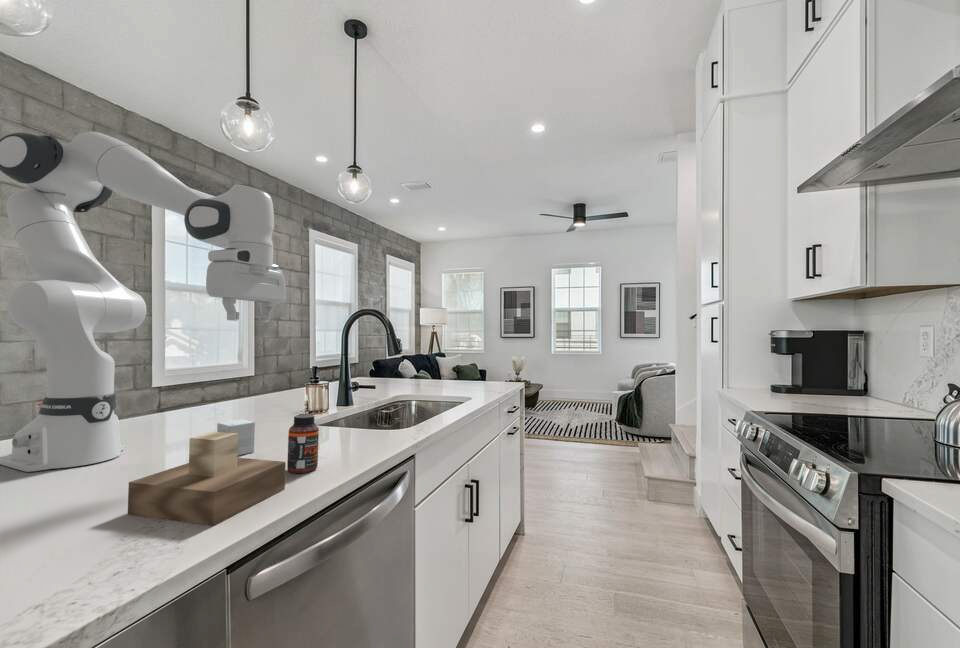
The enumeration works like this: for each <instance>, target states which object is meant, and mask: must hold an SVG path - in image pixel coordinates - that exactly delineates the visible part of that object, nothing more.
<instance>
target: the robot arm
mask: <svg viewBox="0 0 960 648" xmlns="http://www.w3.org/2000/svg"><path fill="white" fill-rule="evenodd" d="M0 172H2V173H3V174H4V175H5V176H7V177H9V178H11V179H12V180H13V181H16V182H18V183H21V184H25V185H26V186H27V187H26V189H22V190H19V191H16V192H14V193H12V194H10V196H9V197H8V199H7V201H6V203H5V204H6V205H5V206H6V214H7V218H8V223H9V226H10V229H11V232H12V234H13V236H14V238H15V241H16V243H17V245H18V248H19V249H20V252H21V254H22V255H23V258H24V260H25V263H26V264H27V267H28V269H30V271H31V272H32V273H34V274H35V275H36V276H38V277H39V278H40V279H41V280H30V281H24V282H22V283H20V284H18V285H17V286H16V287H14V288H13V289H12V291H11V292H10V294H9V296H8V298H7V302H6V303H7V306H6V307H7V312H8V315H9V316H10V318H11V320H12V321H13V322H14V323H15V324H16V325H18V326H19V327H20V328H22V329H24V330H25V331H26V332H28V333H29V334H30V335H31V336H32V337H33V338H34V340H35V341H36V342H37V343H38V345H39V348H40V349H41V352H42V353H43V357H44V359H45V368H46V396H45V397H44V398H43V399H38V400H37V402H40V403H37V406H40V408H39V410H38V414H39V415H37V416H36V417H35V418H34V419H33V420H31V422H29V423H27V424H26V425H25V426H23V427H22V428H21V429H20V430H18V431H17V432H16V433H15V434H14V436H13V438H12V440H11V444H12V445H11V446H12V447H11V448H12V449H11V453H8V454H5V455H2V456H0V465H2V466H5V467H8V468H12V469H15V470H18V471H23V472H25V473H27V472H28V473H29V472H30V473H31V472H39V471H45V470H52V469H62V468H63V469H65V468H73V467H80V466H86V465H92V464H97V463H102V462H105V461H109V460H111V459H112V460H113V459H115V458H117V457H119V456H121V454H122V451H124V450H125V445H124V444H121V435H120V424H119V417H118V415H117V414H115V409H116V408H117V402H118V401H117V400H118V399H117V393H115V372H116V371H115V367H116V363H115V360H114V357H113V356H112V355H110V354H109V353H107V352H105V351H103V350H101V349H100V348H99V346H98V345H97V343H96V341H95V338H94V335H93V333H103V334H104V333H105V334H106V333H111V334H113V333H114V334H115V333H119V332H120V333H121V332H125V331H130V330H135V329H137V328H138V327H139V326H141V324H143V322H144V320H145V319H146V316H147V303H146V302H145V300H144V298H143V297H142V296H141V295H140V294H139V293H137V292H136V291H133V290H131V289H130V288H128V287H126V285H123V284H122V283H121V282H120V281H119V280H117V279H116V278H115V276H113V275H112V274H111V273H110V272H109V271H108V270H107V269H106V268H105V267H104V266H103V265H102V264H101V263H100V262H99V261H98V259H97V258H96V257H95V255H94V253H93V252H92V250H91V248H90V247H89V245H88V242H87V241H86V239H85V237H84V235H83V233H82V230H81V229H80V227H79V226H78V224H77V222H76V219H75V216H74V213H87V212H89V211H90V210H91V209H95V208H98V207H100V206H101V205H103V204H105V203H106V202H107V201H109V200H110V198H111V197H112V194H113V193H115V194H118V195H120V196H122V197H124V198H128V199H130V200H133V201H136V202H139V203H142V204H145V205H149V206H152V207H156V208H161V209H163V210H167V211H170V212H173V213H177V214H179V215H181V216H184V219H183V220H184V226H185V229H186V231H187V233H188V235H190V236H191V237H192V238H193V239H196V240H198V241H199V242H202V243H205V244H208V245H212V246H215V247H218V248H221V249H217V250H216V249H215V250H211V251H208V252H207V253H208V254H207V258H208V261H209V262H210V263H209V264H208V266H207V269H206V276H205V290H206V292H207V294H208V296H209V297H211V298H219V299H220V298H221V299H222V302H221V304H222V306H223V308H224V309H225V312H226V320H227V321H235V322H237V321H239V320H240V317H239V316H240V312H239V311H237V310H236V306H235V304H236V303H237V300H240V301H246V302H247V301H248V302H257V303H262V304H261V305H262V308H263V309H262V312H261V314H260V313H259V314H258V321H259V322H260V323H269V322H270V320H271V314H272V312H273V310H274V308H275V304H284V303H285V301H286V299H287V290H286V289H287V288H286V281H285V276H284V273H283V270H282V269H281V268H280V265H277V264H274V244H273V238H272V236H273V233H274V231H275V230H274V228H275V214H274V203H273V199H272V197H271V195H270V194H269V193H267V192H266V191H264V190H263V189H261V188H259V187H255V186H254V185H250V184H244V183H238V184H234V185H232V187H231V188H230V189H229V190H227V191H226V192H224V193H221V194H219V195H216V196H213V197H207V198H206V197H205V196H202V195H201V194H199V193H197V192H196V191H194V190H193V189H192V188H190V187H189V186H188V185H186V184H185V183H183V182H182V181H181V180H180V179H178V178H177V177H176V176H174V175H173V174H172V173H170V172H169V171H168V170H166V168H164V167H163V166H161V165H160V164H159V163H158V162H156V161H155V160H154V159H152V158H151V157H150V156H148V155H146V154H145V153H144V152H143V151H140V150H139V149H138V148H136V147H134V146H132V145H131V144H128V143H127V142H125V141H122V140H120V139H118V138H115V137H114V136H113V137H112V136H110V135H108V134H105V133H102V132H98V131H85V132H81V133H79V134H78V135H76V136H75V137H74V138H73V139H72V141H71V142H67V143H64V142H59V141H58V139H57V138H56V137H55V136H53V135H45V134H44V135H37V134H34V133H33V134H32V133H29V132H28V133H27V132H13V133H10V134H8V135H4V136H3V137H1V138H0ZM236 305H237V304H236Z"/></svg>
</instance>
